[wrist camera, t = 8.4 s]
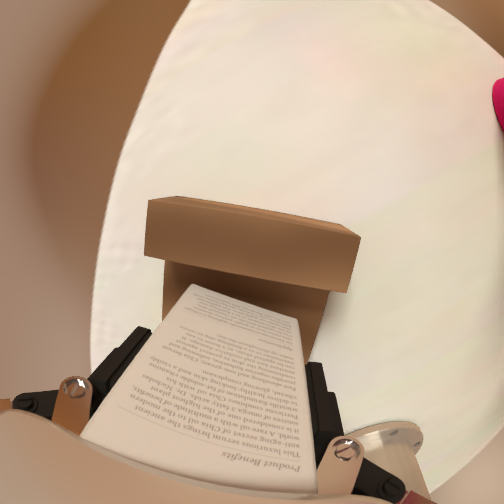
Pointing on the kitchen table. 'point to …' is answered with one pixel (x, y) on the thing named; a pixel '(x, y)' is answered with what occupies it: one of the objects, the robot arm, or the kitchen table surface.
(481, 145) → the kitchen table surface
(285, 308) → the channel block
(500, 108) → the pepper mill
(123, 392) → the skincare box
